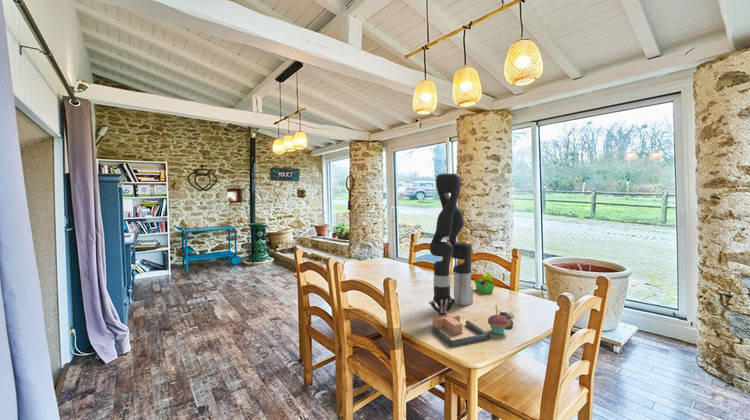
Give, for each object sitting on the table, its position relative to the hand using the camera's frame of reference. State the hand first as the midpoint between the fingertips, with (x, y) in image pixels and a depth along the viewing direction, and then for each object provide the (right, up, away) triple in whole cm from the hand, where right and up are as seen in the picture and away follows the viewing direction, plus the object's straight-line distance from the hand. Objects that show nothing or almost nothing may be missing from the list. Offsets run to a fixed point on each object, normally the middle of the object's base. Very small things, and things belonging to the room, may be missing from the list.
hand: (442, 319), depth 151 cm
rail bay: (+5, -2, -13) cm, 14 cm away
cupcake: (+22, -1, -11) cm, 25 cm away
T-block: (+3, -1, -7) cm, 7 cm away
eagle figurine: (+28, -1, -5) cm, 28 cm away
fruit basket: (+35, +2, +43) cm, 56 cm away
